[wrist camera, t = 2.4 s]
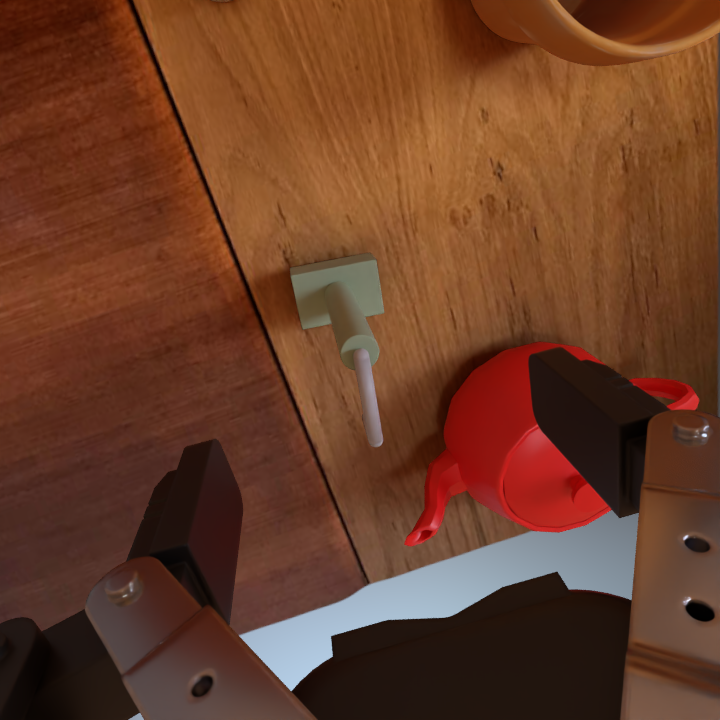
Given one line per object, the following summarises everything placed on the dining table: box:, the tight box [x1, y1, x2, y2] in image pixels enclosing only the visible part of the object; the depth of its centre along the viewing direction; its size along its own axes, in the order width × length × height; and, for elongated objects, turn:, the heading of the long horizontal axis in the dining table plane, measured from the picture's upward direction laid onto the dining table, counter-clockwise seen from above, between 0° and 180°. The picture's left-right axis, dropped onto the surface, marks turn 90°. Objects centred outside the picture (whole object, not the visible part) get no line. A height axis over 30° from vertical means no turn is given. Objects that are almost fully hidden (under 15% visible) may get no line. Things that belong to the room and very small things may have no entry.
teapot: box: [404, 341, 699, 546], centre depth 39 cm, size 25×16×12 cm, turn 113°
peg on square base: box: [290, 253, 384, 447], centre depth 32 cm, size 6×7×15 cm
